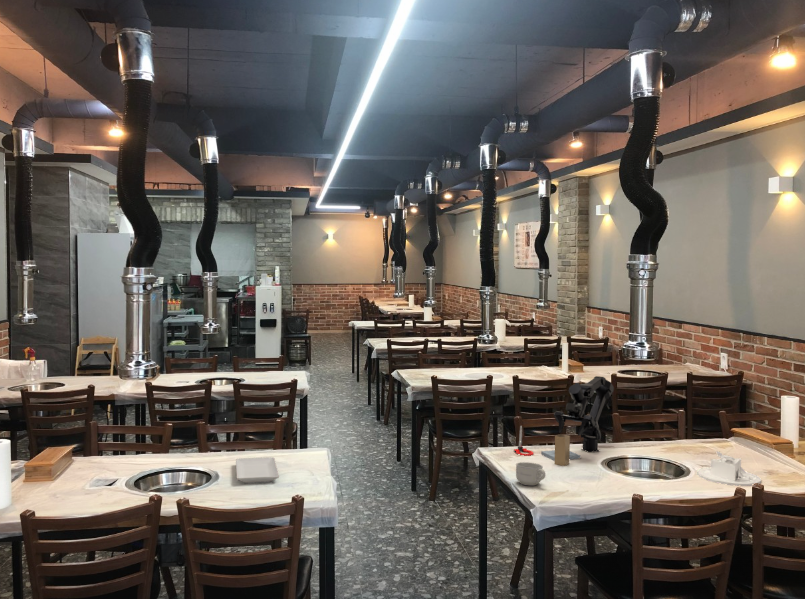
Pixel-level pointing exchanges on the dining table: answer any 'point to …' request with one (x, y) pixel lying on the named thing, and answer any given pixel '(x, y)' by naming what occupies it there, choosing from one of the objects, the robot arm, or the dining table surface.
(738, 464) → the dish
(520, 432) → the tow hook
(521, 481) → the teacup
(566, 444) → the gold metal block
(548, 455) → the mat
